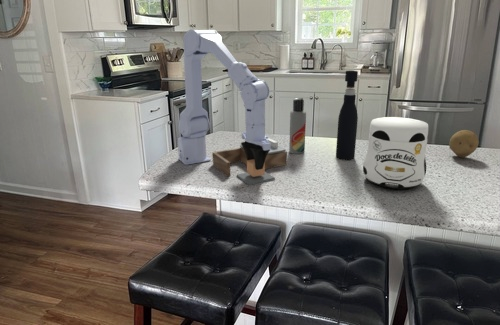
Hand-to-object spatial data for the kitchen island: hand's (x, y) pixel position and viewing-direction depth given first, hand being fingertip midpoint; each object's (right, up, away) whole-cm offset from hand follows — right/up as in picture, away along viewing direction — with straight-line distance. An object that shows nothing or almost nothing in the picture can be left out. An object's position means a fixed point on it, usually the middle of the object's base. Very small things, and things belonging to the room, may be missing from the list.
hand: (255, 166), depth 113 cm
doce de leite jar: (+41, -5, -3) cm, 41 cm away
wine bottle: (+32, +3, +19) cm, 37 cm away
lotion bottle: (+16, +5, +26) cm, 31 cm away
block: (0, -2, +1) cm, 2 cm away
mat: (0, -3, +1) cm, 4 cm away
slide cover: (+3, +6, +13) cm, 15 cm away
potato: (+72, +3, +17) cm, 74 cm away
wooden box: (-2, +1, +13) cm, 13 cm away
